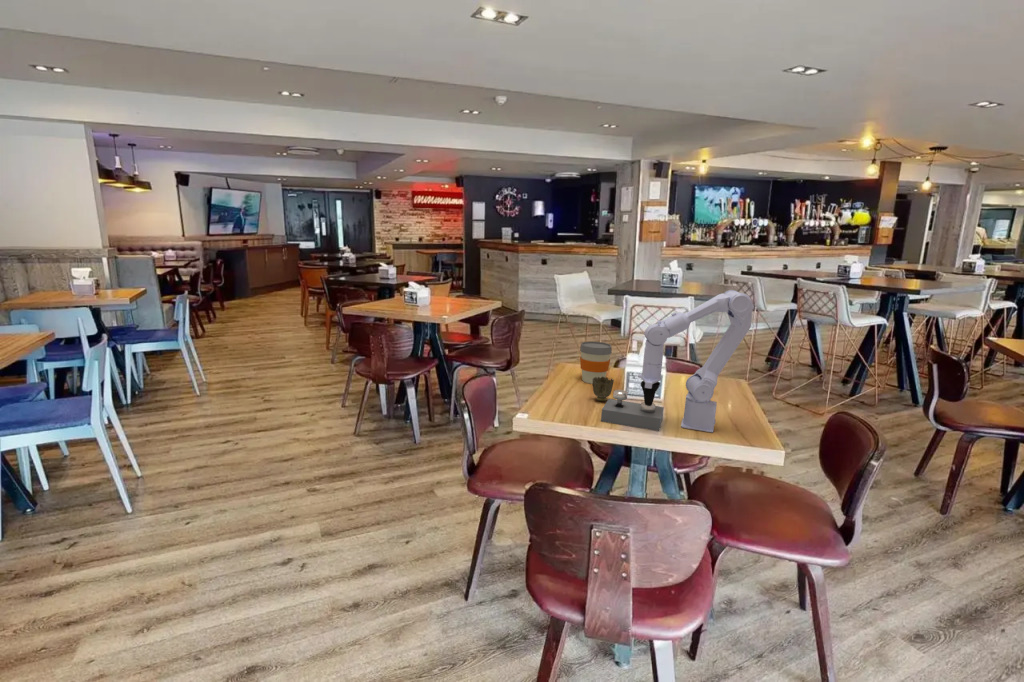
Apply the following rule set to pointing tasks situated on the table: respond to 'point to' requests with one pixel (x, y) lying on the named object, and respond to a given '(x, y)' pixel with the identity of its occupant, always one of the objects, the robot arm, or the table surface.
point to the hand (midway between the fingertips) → (648, 404)
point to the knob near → (647, 407)
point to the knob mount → (631, 415)
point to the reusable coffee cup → (594, 360)
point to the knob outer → (620, 396)
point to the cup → (602, 388)
